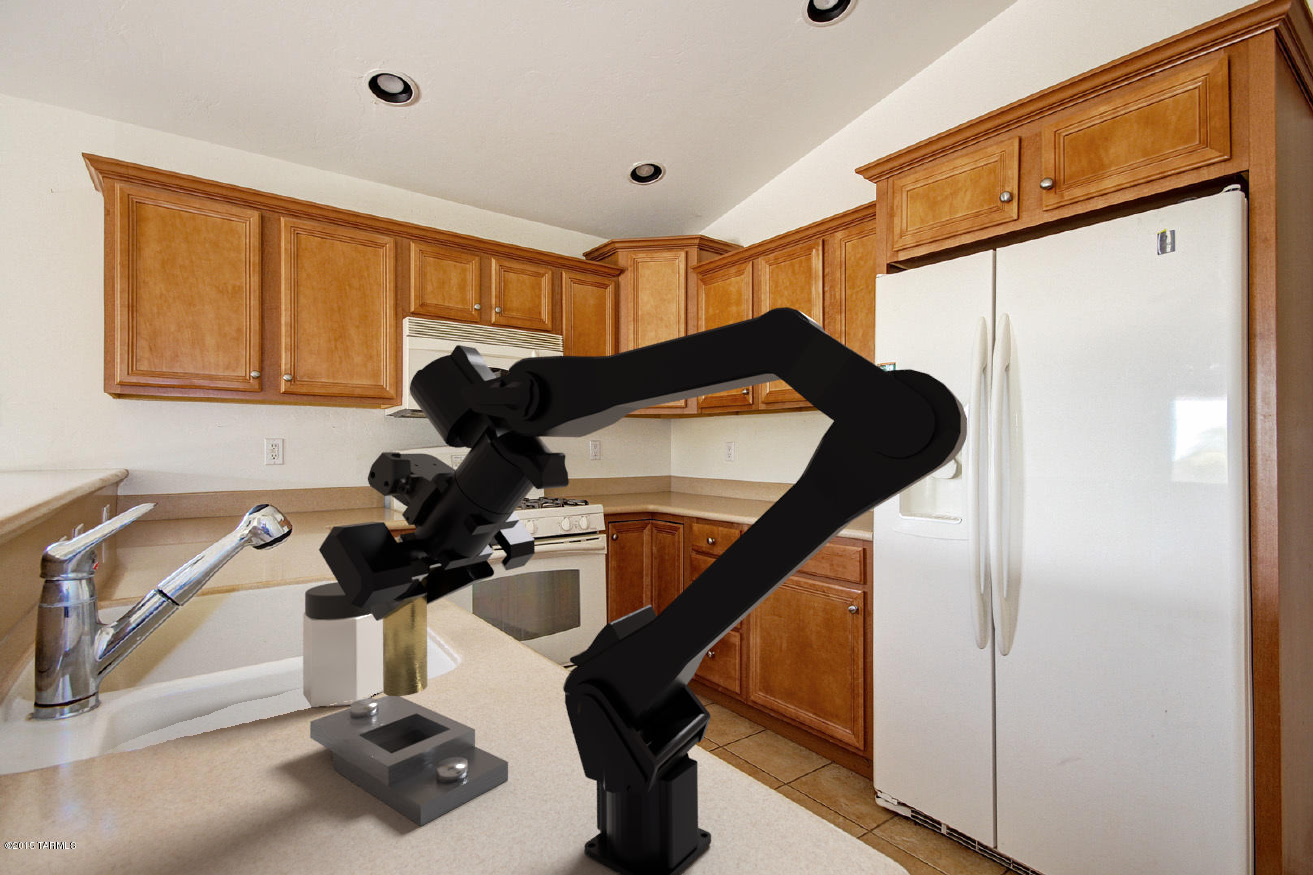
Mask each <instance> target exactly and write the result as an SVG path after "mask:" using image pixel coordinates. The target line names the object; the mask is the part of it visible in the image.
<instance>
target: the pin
mask: <svg viewBox="0 0 1313 875" xmlns="http://www.w3.org/2000/svg"><path fill="white" fill-rule="evenodd" d="M398 537H399V536H397V537H394V538H395V540H396V541H397V543H398V542H399V540H398ZM421 583H422V584H423V586H424V587H425V589H426V590H427V576H425V577H423V578H422V580H421ZM427 687H428V605H427V594H426V595H424V596H422V597H420V598H419V599H417V600H415V601H413V602H412V603H410V604H408V605H406V606H405V607H403V608H401V609H400V610H398V611H396V612H394V613H393V614H391V615H389V616H387V617H385V618H383V692H382V693H383V694H384V695H385V696H388V695H389V696H400V697H404V696H405V697H406V696H410V695H414V694H417V693H420V692H422V691H424V690H425V689H427Z"/></svg>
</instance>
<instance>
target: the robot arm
mask: <svg viewBox="0 0 1313 875" xmlns="http://www.w3.org/2000/svg"><path fill="white" fill-rule="evenodd" d="M415 372H416V373H415V374H414V375H413V377H412V379H411V381H410V384H409V394H410V396H411V398H412V399H413V401H414V402H415V403H416V405H417V406H418V408H419V409H420V410H421V412H422V413H423V414H424V415H425V417H426V418H427V420H428V421H429V422H430V424H431V425H432V426H433V428H434V429H435V430H436V432H437V433H438V434H439V436H440V437H441V439H442V440H443V441H444V443H445V444H446V445H447V446H449V448H450V447H452V448H455V449H459V448H460V449H462V448H467V449H469V451H468V452H467V454H466V456H465V457H464V458H463V459H462V461H461V462H460V463H459V465H458V466H457V468H456V469H455V468H453V467H452V466H450V464H449V465H448V464H447V463H445V462H444V461H443V460H442V459H440V458H438V457H437V456H434V455H432V454H427V453H422V452H421V453H400V452H399V451H397V452H396V451H395V452H394V451H393V452H392V451H391V452H390V451H389V452H388V451H385V452H381V454H379V456H378V457H377V458H376V459H375V461H374V462H372V465H371V466H370V469H369V473H368V476H367V482H368V485H369V486H370V487H371V488H372V489H374V490H375V491H377V493H379V494H381V495H382V496H384V497H392V498H394V499H395V500H396V501H398V502H399V503H400V504H402V505H404V506H405V507H406V508H405V509H404V511H403V512H402V514H401V515H402V517H403V519H404V521H406V523H407V525H408V526H414V527H415V531H414V532H405V533H401V534H399V535H398V536H397V537H398V540H399V542H398V543H397V541H396V540H395V537H394V534H392V532H391V531H390V528H389V527H388V526H387V524H386V522H384V521H368V522H359V523H351V524H344V525H335V526H333V527H332V528H331V530H330V531H329V533H328V535H327V536H326V537H325V539H324V540H323V541H322V543H321V545H320V547H319V549H318V551H319V553H320V554H321V556H322V558H323V559H324V561H325V563H326V564H327V566H328V568H329V569H330V571H331V573H332V575H333V577H334V578H335V580H336V582H338V583H339V585H340V586H341V588H342V590H343V591H344V593H345V595H346V597H347V598H348V600H349V602H350V603H351V604H352V605H355V606H357V607H360V608H364V607H368V606H372V608H371V613H372V615H373V616H374V618H375V620H376V621H378V620H381V619H383V618H385V617H387V616H389V615H391V614H393V613H394V612H396V611H398V610H400V609H401V608H403V607H405V606H406V605H408V604H410V603H412V602H413V601H415V600H417V599H419V598H420V597H422V596H424V595H426V594H427V606H428V605H430V604H432V603H435V602H437V601H439V600H441V599H443V598H446V597H447V596H450V595H452V594H454V593H457V592H459V591H461V590H463V589H467V588H468V587H470V586H472V585H475V584H478V583H480V582H482V581H484V580H487V579H491V578H492V577H493V576H494V575H495V570H494V569H493V567H492V566H491V564H490V563H489V561H488V560H489V559H490V558H491V556H492V555H493V554H494V551H493V548H494V546H500V548H501V549H502V550H503V552H504V553H505V557H504V558H503V559H502V560H501V561H500V562H501V565H502V567H503V569H504V570H505V571H510V570H513V569H514V570H515V569H517V568H521V567H525V565H526V564H528V562H529V561H530V559H531V558H533V556H534V555H535V554H536V552H535V551H536V550H535V547H536V544H535V543H536V542H535V538H534V537H533V535H532V534H531V533H530V531H528V529H527V528H526V527H525V525H524V523H523V522H522V521H521V519H520V518H519V517H518V515H517V514H516V512H515V511H516V510H517V508H518V507H519V506H520V505H521V503H522V502H523V501H524V500H525V498H526V497H527V496H528V494H529V493H530V492H531V490H532V489H533V488H534V489H536V490H545V489H547V490H549V489H559V488H567V487H568V486H569V485H570V481H569V472H568V470H567V467H566V457H567V456H566V454H565V453H564V452H552V451H551V450H550V448H549V447H548V446H547V445H546V444H547V443H545V442H544V441H543V439H542V438H544V437H545V438H546V437H547V438H549V437H550V438H581V437H586V436H588V435H590V434H593V433H595V432H597V431H600V430H602V429H605V428H607V427H609V426H612V425H614V424H616V423H617V422H619V421H620V420H622V419H623V418H624V417H625V416H627V415H629V414H631V413H633V412H636V411H639V410H642V409H645V408H649V407H650V408H651V407H655V406H660V405H665V404H669V403H675V402H678V401H684V400H688V399H689V400H690V399H693V398H694V399H695V398H698V397H704V396H708V395H714V394H718V393H723V392H724V393H725V392H727V391H733V390H737V389H742V388H747V387H753V386H756V385H761V384H767V383H772V382H776V381H781V380H782V381H783V382H784V383H785V384H786V385H788V386H789V387H790V388H791V389H792V390H794V391H795V392H796V393H797V394H799V396H801V397H802V398H803V399H804V400H806V401H807V403H809V404H810V405H811V406H813V407H814V408H815V409H817V410H818V411H820V412H821V413H822V414H824V415H825V416H826V417H828V418H830V419H831V420H832V421H833V422H832V423H831V425H830V426H829V427H828V428H827V430H826V431H825V433H824V434H823V436H822V437H821V439H820V441H819V443H818V445H817V446H816V448H815V451H814V452H813V454H812V456H811V458H810V459H809V461H808V464H807V465H806V467H805V468H804V470H803V472H802V474H801V475H800V477H799V478H798V479H797V481H796V482H795V483H794V484H793V485H792V486H791V487H790V488H789V489H788V490H786V491H785V492H784V494H782V495H781V497H779V498H778V500H776V501H775V502H774V503H773V504H772V505H771V506H770V507H769V508H767V510H766V511H765V512H764V513H763V514H762V515H761V516H760V517H759V518H758V519H756V521H754V522H753V523H752V525H750V526H749V527H748V528H747V529H746V530H745V531H744V532H743V533H742V534H741V535H739V537H738V538H737V539H735V541H734V542H733V543H732V544H731V545H729V546H728V547H727V549H725V550H724V551H723V552H722V553H721V554H720V555H719V556H718V557H717V558H716V559H715V560H714V561H713V562H711V563H710V564H709V566H708V567H706V569H705V570H704V571H702V572H701V573H700V574H699V575H698V577H696V578H695V579H694V580H693V581H692V582H691V583H690V584H689V585H688V586H687V587H686V588H685V589H684V590H683V591H682V592H681V593H680V594H679V595H677V597H675V598H674V599H673V600H672V601H671V602H670V603H669V604H668V605H667V606H666V607H665V608H664V609H663V610H662V611H661V612H660V613H659V614H656V612H655V610H654V608H653V607H652V605H651V604H648V605H646V606H643V607H642V608H639V609H637V610H635V611H633V612H631V613H628V614H625V615H623V616H622V617H619V618H617V619H615V620H613V621H610V622H608V623H606V624H605V625H604V627H603V628H602V629H601V630H600V631H599V632H598V633H597V634H596V636H595V637H594V639H593V641H592V642H591V643H590V645H589V646H588V648H587V649H586V650H582V651H581V652H579V653H577V654H575V655H572V656H571V657H570V658H569V662H570V663H571V664H573V665H575V667H574V668H573V669H572V670H571V671H570V672H569V673H568V675H567V676H566V677H565V681H564V683H563V685H562V689H563V690H562V691H563V692H564V704H565V709H566V713H567V716H568V720H569V724H570V727H571V730H572V734H573V737H574V742H575V744H576V748H577V752H578V755H579V758H580V762H581V766H582V769H583V772H584V775H585V777H586V778H587V779H589V780H592V781H596V828H597V830H598V831H599V833H598V834H596V835H594V837H592V838H591V839H590V840H588V841H587V842H585V844H584V847H583V848H584V855H586V856H588V857H589V858H591V859H592V860H595V861H597V862H598V863H600V864H602V865H604V866H606V867H607V868H609V869H611V870H613V871H615V872H617V873H619V874H621V875H678V874H680V873H681V872H682V871H683V870H684V869H685V868H686V867H687V866H688V865H689V864H690V863H692V861H693V860H695V859H696V858H697V857H698V856H699V855H700V854H701V853H702V852H703V851H704V850H706V848H708V847H709V846H710V845H711V844H712V834H711V832H709V831H707V830H705V829H703V828H701V827H699V788H698V787H699V786H698V785H699V784H698V782H699V780H698V778H699V777H698V776H699V774H698V773H699V772H698V771H699V770H698V764H699V763H698V761H697V760H696V759H693V758H690V755H689V753H688V752H689V751H690V750H692V748H694V746H695V745H697V743H701V742H702V741H703V740H704V738H705V735H706V733H707V729H708V727H709V724H710V720H711V713H710V712H709V711H708V709H707V708H706V706H704V704H703V703H702V702H701V700H700V699H699V697H697V695H696V694H695V693H694V691H693V690H692V689H691V688H690V687H689V685H688V683H689V682H690V681H691V680H692V678H693V677H694V675H695V673H696V671H697V670H698V668H699V666H700V664H701V662H702V661H703V658H704V657H705V655H706V654H707V653H708V651H709V650H710V649H711V648H712V647H714V645H715V644H717V642H719V641H720V640H721V639H723V637H724V636H725V635H726V634H728V633H729V632H730V631H731V630H733V628H735V626H737V625H738V624H739V623H740V622H741V621H743V620H744V618H746V617H747V616H748V615H749V614H750V613H752V612H753V611H754V609H756V608H757V607H758V606H759V605H760V604H761V603H762V602H764V601H765V600H766V599H767V598H768V597H769V596H771V595H772V594H773V593H774V592H775V591H776V590H777V589H778V588H779V587H780V586H782V584H784V583H785V582H786V581H787V580H788V579H789V578H790V577H792V575H794V574H795V573H796V572H797V571H798V570H800V569H801V568H802V567H803V566H804V565H805V564H806V563H808V562H809V561H810V560H811V559H812V558H814V556H815V555H816V554H817V553H818V552H820V551H821V550H822V549H823V548H824V547H825V546H827V545H828V543H830V542H831V541H832V540H833V539H834V538H836V536H838V535H839V534H840V533H841V532H842V531H843V530H844V529H845V528H846V527H849V525H850V524H851V523H852V522H854V521H855V520H857V519H858V518H860V517H862V516H864V515H865V514H867V513H869V512H870V511H872V510H874V509H875V508H877V507H879V506H881V505H882V504H884V503H885V502H887V501H889V500H891V499H892V498H894V497H896V496H897V495H899V494H901V493H902V492H904V491H906V490H907V489H909V488H910V487H912V486H914V485H915V484H917V483H919V482H921V481H922V480H924V479H925V478H927V477H930V475H932V474H934V473H935V472H937V471H939V470H940V469H942V468H943V467H946V466H947V465H948V464H950V463H951V462H952V461H953V460H954V459H955V458H956V457H957V456H958V454H959V453H960V452H961V451H962V449H963V447H964V444H965V442H966V439H967V436H968V417H967V415H966V411H965V409H964V405H963V404H962V402H961V400H959V399H958V397H957V396H956V395H955V394H954V393H953V391H952V390H951V389H950V388H949V387H948V386H947V385H946V384H945V383H943V382H941V381H940V380H938V379H937V378H935V377H934V376H932V375H931V374H929V373H928V372H927V373H926V372H922V371H918V370H915V369H911V368H910V369H909V368H907V369H891V370H890V369H889V370H884V369H883V368H881V367H880V366H878V365H877V364H875V363H874V362H872V361H870V360H868V359H867V358H866V357H864V356H863V355H861V354H859V353H858V352H856V351H855V350H854V349H852V348H850V347H848V346H847V345H845V344H844V343H842V342H841V341H839V340H838V339H837V338H835V337H833V336H832V335H830V334H828V333H827V332H826V331H825V330H824V328H823V326H821V324H819V323H818V322H817V321H815V320H814V319H812V318H811V317H809V316H808V315H807V314H805V313H803V312H802V311H800V310H799V309H795V308H791V307H789V306H784V307H776V308H772V309H769V310H768V311H766V312H764V313H763V314H760V315H759V316H756V317H752V318H749V319H748V318H747V319H745V320H741V321H736V322H733V323H728V324H725V325H721V326H718V327H715V328H710V329H706V330H703V331H700V332H695V333H691V334H686V335H684V336H679V337H676V338H672V339H669V340H665V341H660V342H656V343H653V344H649V345H645V346H641V347H637V348H633V349H629V350H625V351H622V352H617V353H615V354H610V355H596V356H588V355H551V356H549V355H548V356H547V355H546V356H529V357H524V358H521V359H519V360H517V361H516V362H514V363H513V364H512V365H511V366H509V368H508V374H505V375H502V376H496V375H495V373H494V372H493V371H492V369H490V367H489V366H488V365H487V363H486V361H485V359H484V357H483V356H482V354H481V353H480V352H479V350H478V349H477V348H476V347H472V346H466V345H459V344H458V345H456V346H455V347H454V348H453V350H452V352H451V353H450V354H447V355H443V356H440V357H438V358H436V359H434V360H431V362H429V363H428V364H426V365H425V366H424V367H423V368H420V369H418V370H417V371H415ZM541 437H542V438H541ZM425 576H427V590H426V589H425V587H424V586H423V584H422V583H421V580H422V578H423V577H425Z"/></svg>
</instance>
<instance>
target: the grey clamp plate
mask: <svg viewBox="0 0 1313 875" xmlns="http://www.w3.org/2000/svg"><path fill="white" fill-rule="evenodd" d="M309 723H310V725H309V726H310V727H309V728H310V729H309V730H310V731H309V733H310V734H309V736H310V737H309V738H310V739H311V740H313V741H314V742H316V743H318V744H319V745H321V746H323V747H324V748H326V749H328V750H329V751H331V752H332V753H333V771H335V772H336V773H337V774H340V775H341V776H343V777H344V778H346V779H347V780H349V781H351V782H352V783H353V784H355V785H357V786H358V787H360V788H361V789H363V790H364V791H366V792H368V793H369V794H371V795H372V796H373V797H376V798H377V799H378V800H379V801H380V802H383V803H385V804H386V805H387V806H389V807H390V808H392V809H394V810H395V811H396V812H398V813H399V814H401V815H402V816H404V817H405V818H408V819H409V820H410V821H412V822H413V823H415V824H416V825H418V826H420V827H422V826H424V825H426V824H427V823H429V822H432V821H433V820H436V819H438V818H439V817H441V816H443V815H445V814H446V813H449V812H451V811H452V810H454V809H456V808H458V807H460V806H461V805H464V804H465V803H467V802H469V801H471V800H473V799H475V798H477V797H478V796H481V795H483V794H484V793H486V792H488V791H490V790H492V789H494V788H496V787H498V786H500V785H501V784H504V783H505V782H507V781H509V761H507V760H505V759H503V758H501V757H499V756H497V755H494V754H493V753H491V752H487V751H486V750H483V749H481V748H480V747H477V746H476V729H475V728H473V727H470V726H468V725H466V724H464V723H462V722H460V721H457V720H455V719H452V718H450V717H448V716H446V715H443V714H442V713H439V712H437V711H434V710H432V709H429V708H428V707H425V706H422V705H420V704H419V703H416V702H414V701H411V700H410V699H407V698H404V697H403V696H389V695H385V696H382V697H379V698H374V697H373V698H372V697H370V698H367V699H361V700H358V701H355V702H353V703H352V704H351V705H349V707H348V708H346V709H343V710H340V711H337V712H334V713H331V714H327V715H326V716H323V717H319V718H316V719H313V720H311V721H310V722H309Z"/></svg>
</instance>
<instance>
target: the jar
mask: <svg viewBox="0 0 1313 875" xmlns="http://www.w3.org/2000/svg"><path fill="white" fill-rule="evenodd" d="M371 608H372V606H368V607H364V608H360V607H357V606H355V605H352V604H351V603H350V602H349V600H348V598H347V597H346V595H345V593H344V591H343V590H342V588H341V586H340V585H339V583H338V581H336V582H329V583H324V584H320V585H316V586H313V587H310V588H309V589H307V590H306V591H305V593H304V612H303V613H302V615H303V616H302V617H303V618H302V620H303V622H302V624H303V626H302V628H303V632H302V637H303V638H302V639H303V640H302V648H303V649H302V650H303V652H302V656H303V657H302V661H303V663H302V664H303V665H302V669H303V670H302V672H303V673H302V675H303V677H302V678H303V679H302V680H303V681H302V682H303V683H302V684H303V685H302V688H303V691H302V692H303V696H304V697H305V699H306V700H307V702H308V703H309V705H310V706H311V708H320V707H319V706H326V707H325V708H328V707H339V706H350V705H351V704H352V703H353V702H355V701H358V700H361V699H367V698H371V697H369V696H368V695H373V694H376V695H378V694H377V693H379V694H381V693H383V619H381V620H378V621H376V620H375V618H374V616H373V615H372V613H371ZM363 697H366V698H363ZM350 700H353V701H350ZM344 701H348V702H344ZM334 703H337V704H334ZM330 704H334V705H330ZM328 705H330V706H328Z"/></svg>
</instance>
